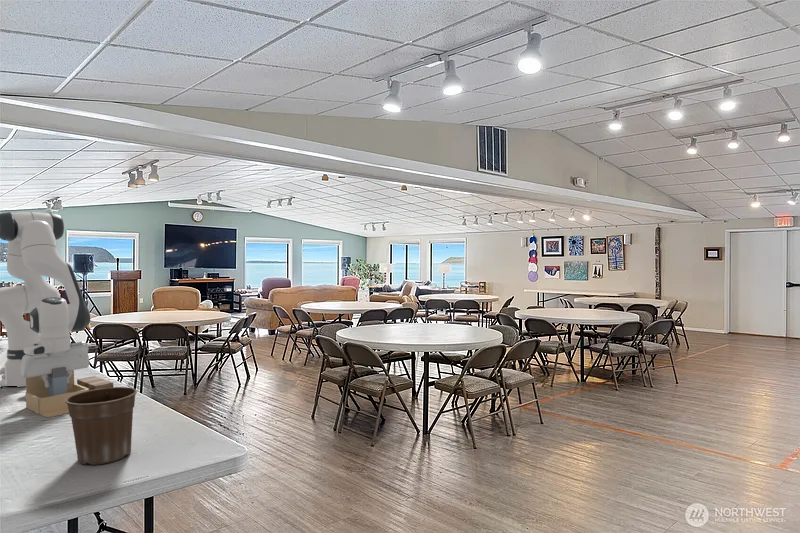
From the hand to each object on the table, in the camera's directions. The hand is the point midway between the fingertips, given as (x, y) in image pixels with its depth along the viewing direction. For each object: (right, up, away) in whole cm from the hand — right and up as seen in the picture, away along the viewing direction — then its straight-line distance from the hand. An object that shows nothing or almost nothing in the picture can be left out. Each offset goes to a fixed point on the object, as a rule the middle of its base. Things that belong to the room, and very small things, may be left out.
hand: (57, 385), depth 191 cm
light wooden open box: (+3, -7, -2) cm, 8 cm away
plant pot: (+41, -8, -47) cm, 64 cm away
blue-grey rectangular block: (0, -4, 0) cm, 4 cm away
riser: (+8, -6, +9) cm, 14 cm away
